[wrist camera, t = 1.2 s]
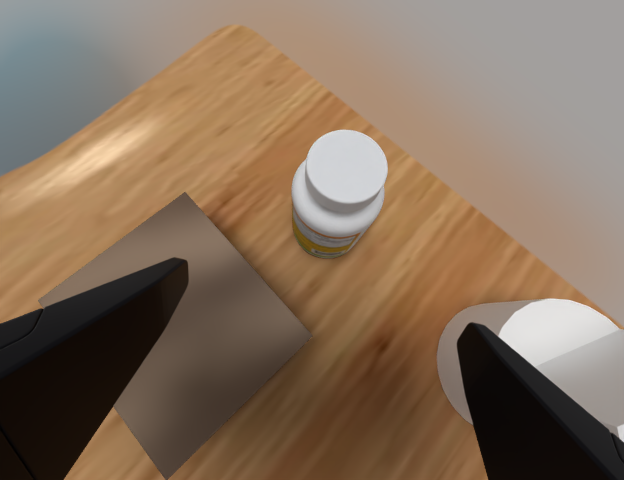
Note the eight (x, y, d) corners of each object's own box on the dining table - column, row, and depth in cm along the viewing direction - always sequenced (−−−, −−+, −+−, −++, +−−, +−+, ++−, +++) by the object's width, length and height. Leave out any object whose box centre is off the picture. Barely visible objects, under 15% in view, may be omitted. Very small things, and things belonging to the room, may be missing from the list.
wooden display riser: (309, 332, 21) (312, 335, 16) (196, 442, 19) (166, 480, 14) (205, 216, 23) (185, 191, 18) (92, 304, 20) (37, 300, 16)
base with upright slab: (518, 287, 23) (751, 256, 11) (579, 407, 21) (945, 521, 9) (416, 326, 21) (560, 337, 10) (471, 458, 19) (735, 667, 8)
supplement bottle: (329, 183, 24) (352, 97, 15) (372, 231, 23) (425, 173, 14) (278, 221, 23) (267, 154, 14) (321, 273, 22) (342, 240, 13)
